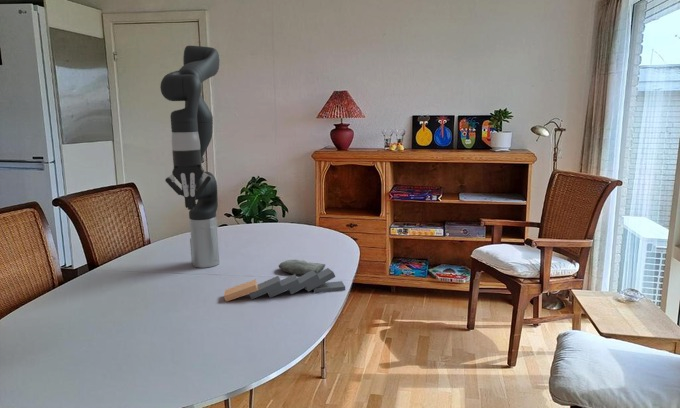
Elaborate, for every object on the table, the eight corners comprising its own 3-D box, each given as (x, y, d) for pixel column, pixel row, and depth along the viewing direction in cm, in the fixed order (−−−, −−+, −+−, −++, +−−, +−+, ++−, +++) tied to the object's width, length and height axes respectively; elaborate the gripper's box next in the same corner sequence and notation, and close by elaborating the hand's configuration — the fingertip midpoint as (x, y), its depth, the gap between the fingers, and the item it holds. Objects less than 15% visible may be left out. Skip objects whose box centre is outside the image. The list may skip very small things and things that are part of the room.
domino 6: (314, 289, 151) (345, 286, 152) (311, 283, 155) (341, 281, 157) (314, 295, 151) (345, 292, 153) (312, 289, 156) (342, 286, 158)
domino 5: (305, 286, 150) (333, 271, 153) (301, 282, 155) (327, 267, 157) (308, 291, 151) (335, 276, 153) (303, 287, 155) (330, 272, 158)
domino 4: (289, 289, 149) (317, 274, 151) (285, 284, 153) (312, 269, 156) (291, 294, 149) (319, 279, 151) (287, 289, 154) (314, 274, 156)
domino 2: (248, 294, 146) (279, 281, 147) (248, 288, 151) (278, 275, 152) (251, 299, 147) (281, 286, 147) (251, 293, 151) (280, 280, 152)
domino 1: (223, 296, 145) (255, 285, 146) (225, 290, 150) (255, 279, 151) (226, 301, 145) (257, 290, 146) (227, 295, 150) (257, 284, 151)
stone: (273, 273, 169) (315, 283, 165) (274, 262, 168) (316, 272, 164) (286, 260, 179) (326, 269, 175) (287, 250, 177) (327, 259, 173)
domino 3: (267, 292, 147) (297, 279, 148) (266, 286, 152) (295, 273, 153) (270, 298, 148) (299, 284, 149) (268, 292, 152) (297, 279, 154)
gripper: (159, 150, 135) (164, 213, 139) (209, 148, 138) (214, 210, 141) (163, 148, 143) (168, 208, 146) (211, 146, 145) (215, 205, 148)
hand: (191, 209), depth 143 cm, fingers closed
